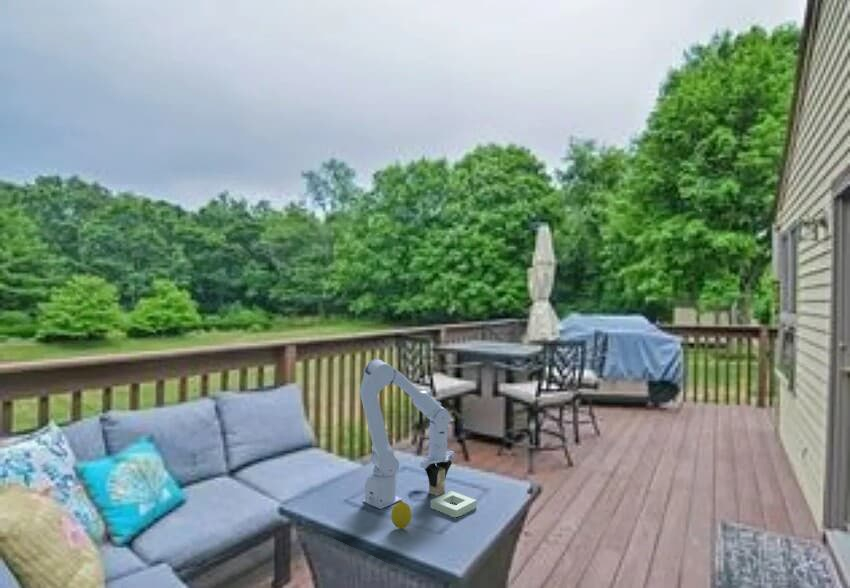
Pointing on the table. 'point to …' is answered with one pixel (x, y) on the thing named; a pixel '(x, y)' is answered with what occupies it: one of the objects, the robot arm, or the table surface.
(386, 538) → the table surface
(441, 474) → the peg
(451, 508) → the socket block
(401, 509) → the lemon
